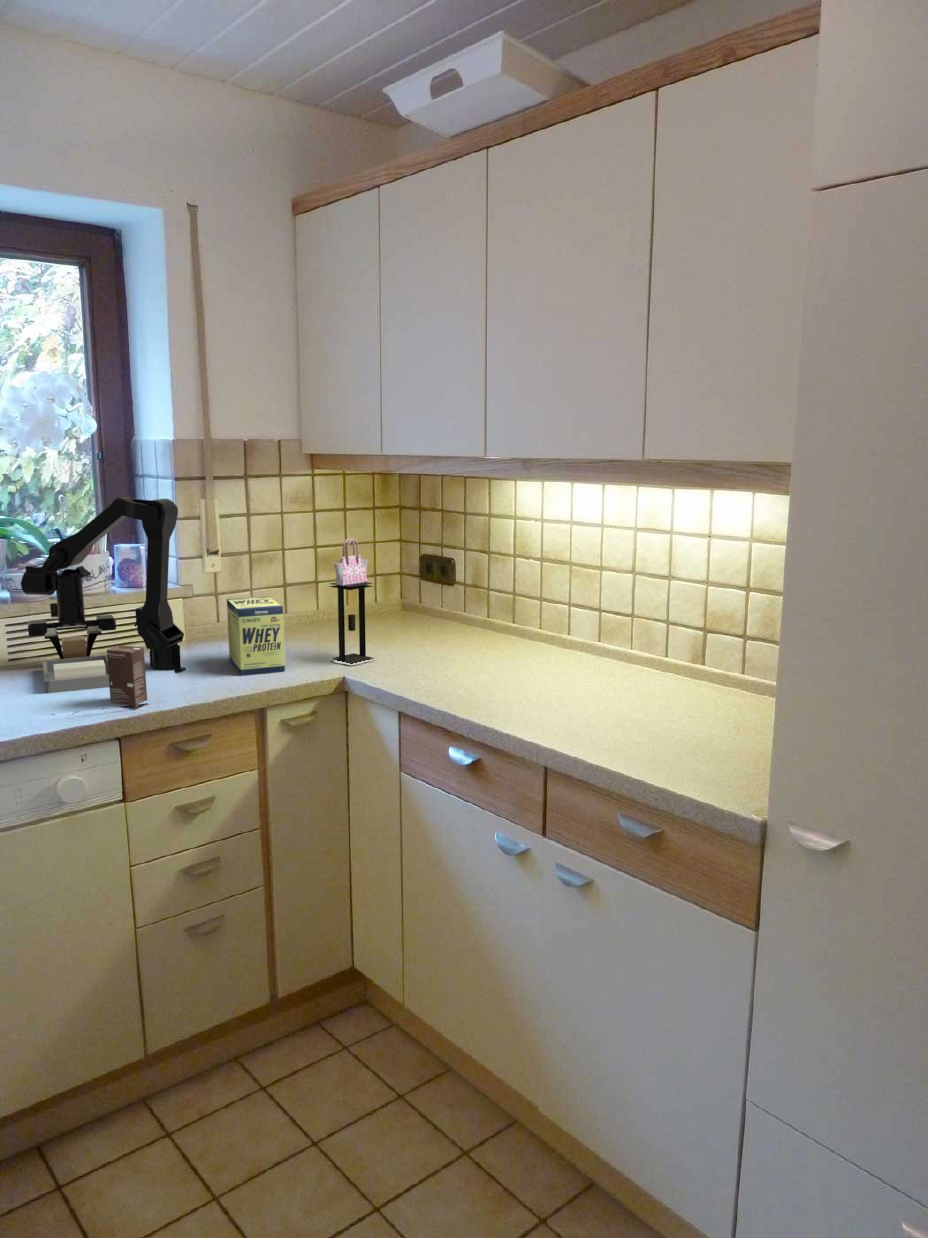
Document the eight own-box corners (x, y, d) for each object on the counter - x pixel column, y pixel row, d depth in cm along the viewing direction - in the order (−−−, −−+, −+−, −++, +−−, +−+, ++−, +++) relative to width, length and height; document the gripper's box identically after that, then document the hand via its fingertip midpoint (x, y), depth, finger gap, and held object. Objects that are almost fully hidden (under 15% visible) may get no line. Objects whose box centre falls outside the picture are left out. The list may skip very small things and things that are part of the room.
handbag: (357, 655, 231) (355, 535, 225) (378, 660, 226) (377, 537, 220) (325, 662, 223) (322, 538, 218) (346, 667, 219) (343, 541, 213)
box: (109, 707, 186) (105, 649, 183) (124, 701, 190) (120, 644, 188) (135, 710, 184) (131, 651, 182) (149, 704, 188) (145, 646, 186)
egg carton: (106, 685, 198) (105, 664, 197) (55, 690, 194) (54, 669, 193) (104, 679, 203) (103, 659, 202) (55, 684, 199) (53, 664, 198)
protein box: (241, 676, 210) (238, 609, 207) (228, 661, 224) (225, 598, 221) (286, 672, 215) (284, 606, 212) (271, 657, 229) (269, 595, 226)
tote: (117, 690, 198) (116, 674, 197) (46, 698, 192) (44, 681, 191) (109, 669, 216) (108, 654, 215) (43, 675, 210) (42, 660, 209)
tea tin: (87, 669, 216) (85, 639, 215) (64, 671, 214) (62, 641, 213) (86, 664, 220) (84, 635, 219) (63, 666, 218) (61, 637, 217)
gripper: (109, 588, 225) (114, 650, 228) (25, 593, 217) (30, 657, 220) (114, 595, 215) (118, 660, 218) (25, 600, 207) (31, 668, 210)
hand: (75, 661), depth 217 cm, fingers closed on tea tin, 5 cm apart
